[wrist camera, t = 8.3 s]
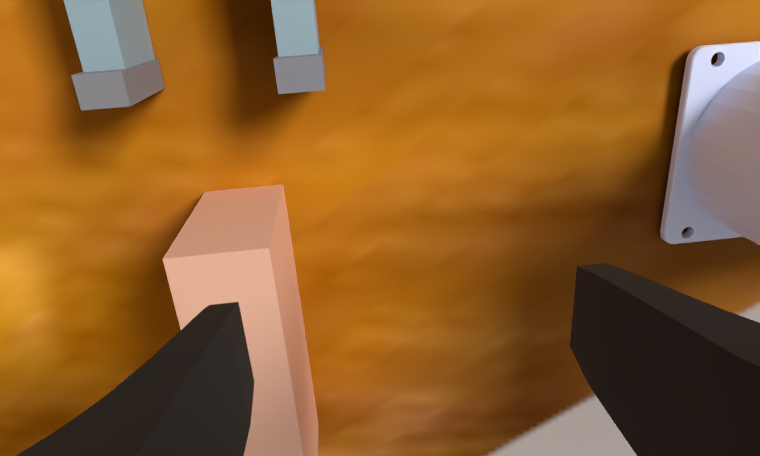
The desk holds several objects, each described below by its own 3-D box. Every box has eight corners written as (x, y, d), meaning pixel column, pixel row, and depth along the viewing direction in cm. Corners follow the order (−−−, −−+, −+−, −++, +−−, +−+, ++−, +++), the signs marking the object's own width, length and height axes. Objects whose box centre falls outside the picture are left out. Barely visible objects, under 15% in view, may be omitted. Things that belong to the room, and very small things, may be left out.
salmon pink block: (283, 183, 21) (268, 248, 15) (318, 421, 26) (317, 536, 20) (205, 190, 21) (162, 259, 15) (255, 429, 25) (236, 547, 20)
